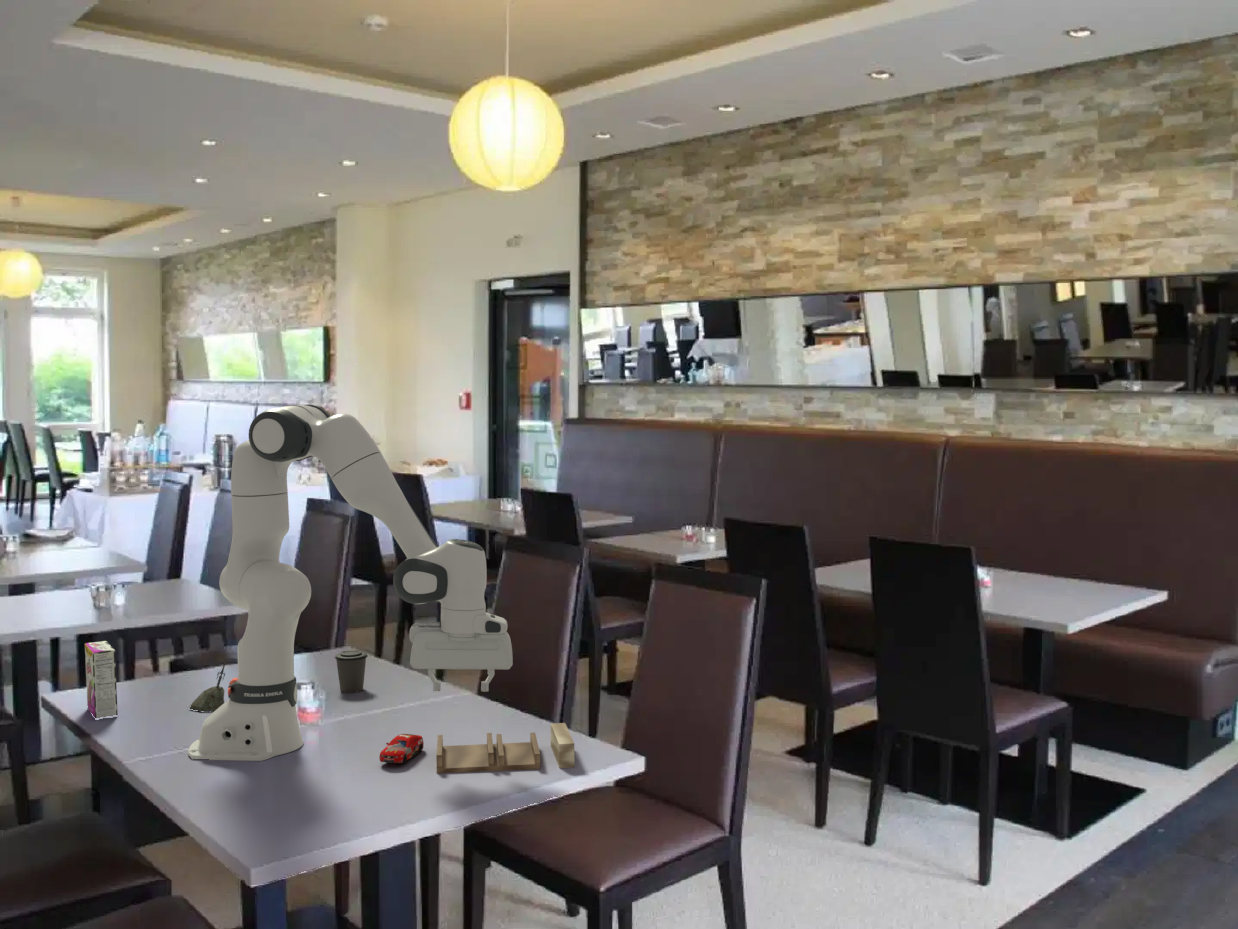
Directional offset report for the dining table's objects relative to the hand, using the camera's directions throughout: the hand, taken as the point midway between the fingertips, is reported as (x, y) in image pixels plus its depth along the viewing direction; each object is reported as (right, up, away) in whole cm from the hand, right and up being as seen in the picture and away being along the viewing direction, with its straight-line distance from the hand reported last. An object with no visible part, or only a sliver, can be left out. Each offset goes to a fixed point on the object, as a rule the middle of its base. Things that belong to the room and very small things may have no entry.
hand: (460, 691), depth 221 cm
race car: (-12, -16, -1) cm, 20 cm away
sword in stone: (-64, -13, +38) cm, 75 cm away
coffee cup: (-35, -11, +54) cm, 65 cm away
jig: (+5, -14, +2) cm, 15 cm away
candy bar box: (-86, -13, +33) cm, 93 cm away
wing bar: (+20, -14, +4) cm, 25 cm away
